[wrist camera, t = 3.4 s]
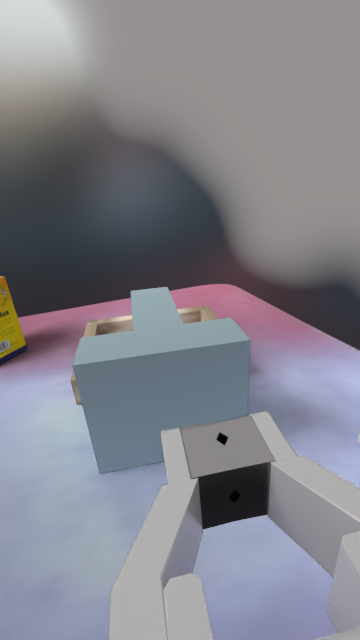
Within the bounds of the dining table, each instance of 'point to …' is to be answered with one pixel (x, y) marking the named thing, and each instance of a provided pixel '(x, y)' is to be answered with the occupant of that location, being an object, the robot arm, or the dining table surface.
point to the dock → (127, 325)
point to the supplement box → (9, 326)
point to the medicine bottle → (358, 437)
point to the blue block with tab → (158, 379)
